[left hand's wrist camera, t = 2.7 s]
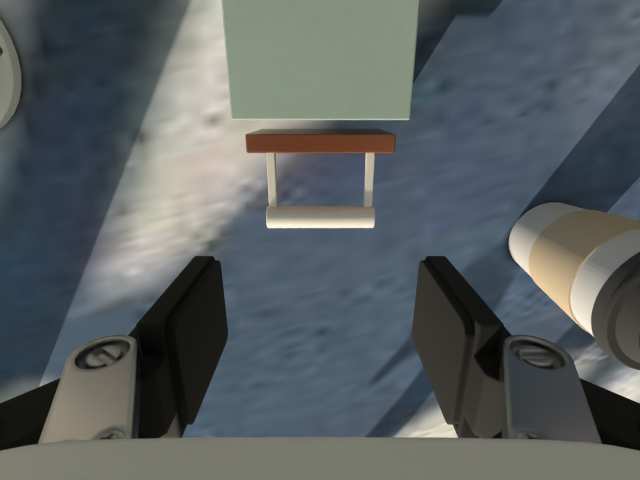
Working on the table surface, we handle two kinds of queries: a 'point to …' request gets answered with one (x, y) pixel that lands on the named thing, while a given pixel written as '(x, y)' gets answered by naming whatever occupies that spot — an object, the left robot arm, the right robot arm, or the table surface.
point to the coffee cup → (586, 270)
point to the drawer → (320, 143)
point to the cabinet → (320, 58)
